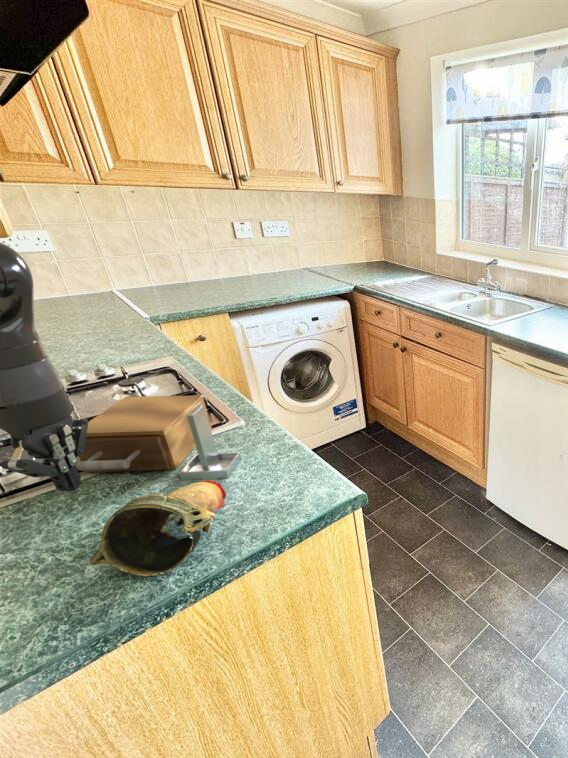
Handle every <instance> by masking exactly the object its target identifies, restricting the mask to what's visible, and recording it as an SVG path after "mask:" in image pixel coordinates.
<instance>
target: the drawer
mask: <svg viewBox="0 0 568 758" xmlns="http://www.w3.org/2000/svg"><path fill="white" fill-rule="evenodd" d="M74 444H76V441H74ZM78 458H79V460H80V461H79V462H77V464H76V468H77V470H78V471H79V472H81V471H84V472H85V474H87V473H88V474H89V472H93V473H112V472H111V471H116V472H135V471H134V470H138V471H157V470H156V469H161V470H169V469H168V468H169V467H170V466H171V463H170V460H169V457H168V454H167V451H166V448H165V446H164V443H163V440H162V437H161V435H130V436H99V437H89V438H86V441H85V447H84V453H83V455H81V456H78Z"/></svg>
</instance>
